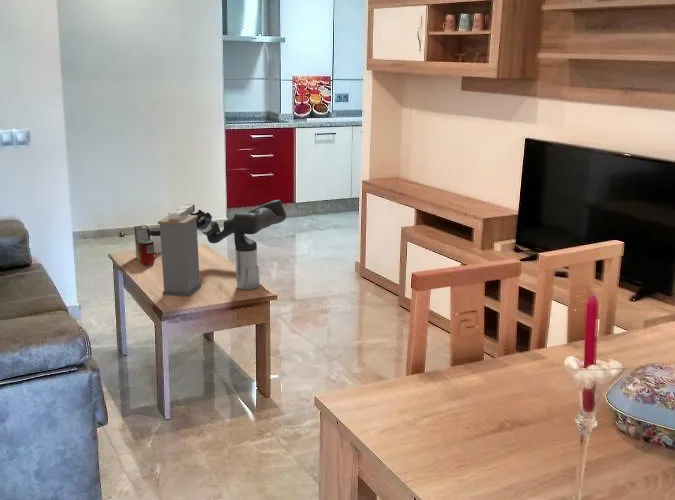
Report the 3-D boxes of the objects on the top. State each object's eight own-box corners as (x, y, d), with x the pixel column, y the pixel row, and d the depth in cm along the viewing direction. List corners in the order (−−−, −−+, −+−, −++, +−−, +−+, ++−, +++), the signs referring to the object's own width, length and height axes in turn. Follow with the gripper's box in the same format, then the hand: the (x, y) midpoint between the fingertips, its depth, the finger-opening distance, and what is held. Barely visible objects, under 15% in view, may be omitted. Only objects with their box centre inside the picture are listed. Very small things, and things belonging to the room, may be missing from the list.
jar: (148, 254, 368) (146, 231, 365) (150, 250, 376) (148, 227, 372) (166, 253, 369) (164, 230, 366) (167, 249, 377) (166, 227, 374)
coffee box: (152, 260, 357) (149, 228, 353) (139, 261, 355) (136, 230, 350) (148, 255, 365) (146, 224, 361) (135, 257, 363) (133, 226, 358)
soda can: (158, 263, 352) (156, 239, 348) (147, 267, 346) (145, 242, 343) (147, 261, 355) (145, 237, 352) (137, 265, 349) (135, 240, 346)
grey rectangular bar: (180, 220, 299) (179, 213, 298) (168, 220, 300) (168, 213, 299) (196, 211, 317) (196, 204, 316) (186, 210, 318) (185, 204, 317)
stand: (189, 296, 304) (185, 222, 296) (162, 294, 306) (157, 221, 298) (201, 286, 318) (197, 215, 309) (175, 284, 320) (171, 214, 311)
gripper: (215, 230, 331) (203, 220, 316) (186, 229, 333) (173, 218, 318) (217, 215, 333) (206, 203, 317) (188, 213, 335) (175, 202, 320)
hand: (189, 211), depth 318 cm, fingers open, 8 cm apart
